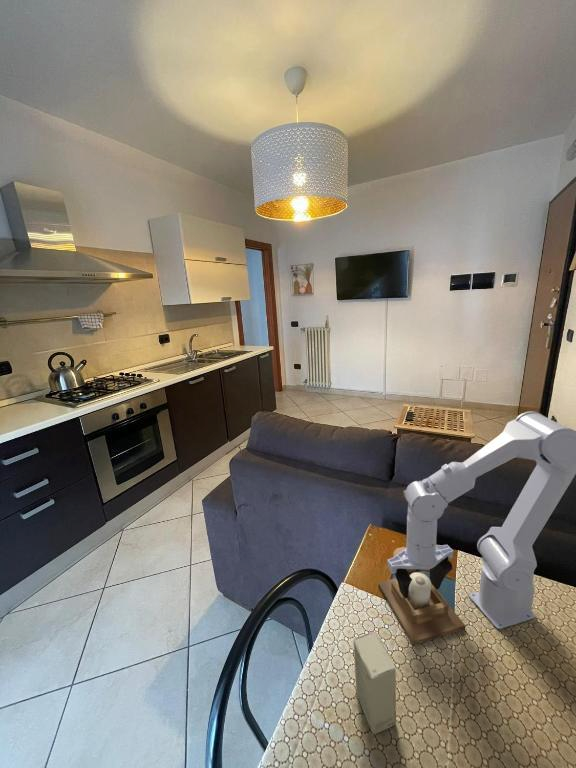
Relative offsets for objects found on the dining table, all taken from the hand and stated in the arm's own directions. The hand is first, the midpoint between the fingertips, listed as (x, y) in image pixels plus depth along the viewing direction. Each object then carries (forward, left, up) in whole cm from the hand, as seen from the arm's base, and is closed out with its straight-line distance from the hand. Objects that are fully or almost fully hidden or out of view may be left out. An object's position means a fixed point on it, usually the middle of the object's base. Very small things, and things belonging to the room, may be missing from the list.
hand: (419, 589), depth 69 cm
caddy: (0, 0, -5) cm, 5 cm away
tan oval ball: (-4, -11, -5) cm, 13 cm away
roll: (0, 0, -3) cm, 3 cm away
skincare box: (+18, +14, -5) cm, 23 cm away
